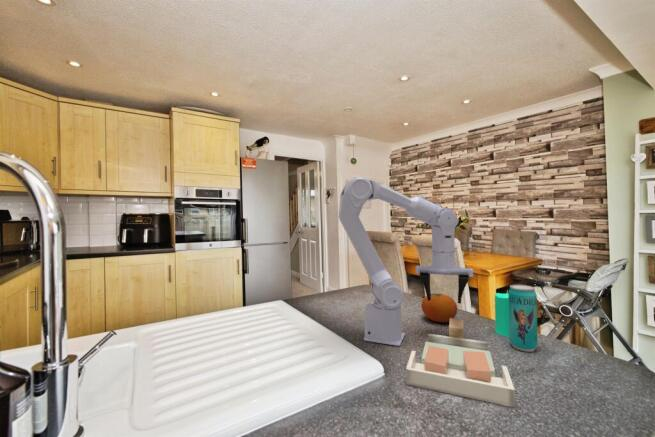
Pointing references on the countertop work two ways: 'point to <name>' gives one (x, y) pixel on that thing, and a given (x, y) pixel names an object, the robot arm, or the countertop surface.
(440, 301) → the fruit
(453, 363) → the board
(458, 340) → the scraper
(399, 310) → the robot arm
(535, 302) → the beverage can
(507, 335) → the candle
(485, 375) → the tile right
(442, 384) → the tray
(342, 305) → the countertop surface
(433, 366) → the tile left
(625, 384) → the countertop surface
